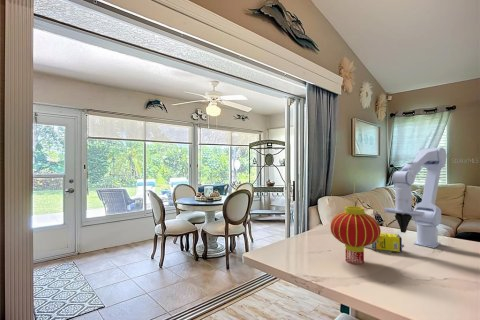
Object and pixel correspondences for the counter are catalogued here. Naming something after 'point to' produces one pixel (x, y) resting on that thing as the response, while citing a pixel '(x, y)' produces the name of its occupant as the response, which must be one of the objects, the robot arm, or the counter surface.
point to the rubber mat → (378, 249)
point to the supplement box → (388, 242)
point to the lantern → (355, 231)
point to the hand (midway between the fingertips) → (403, 232)
